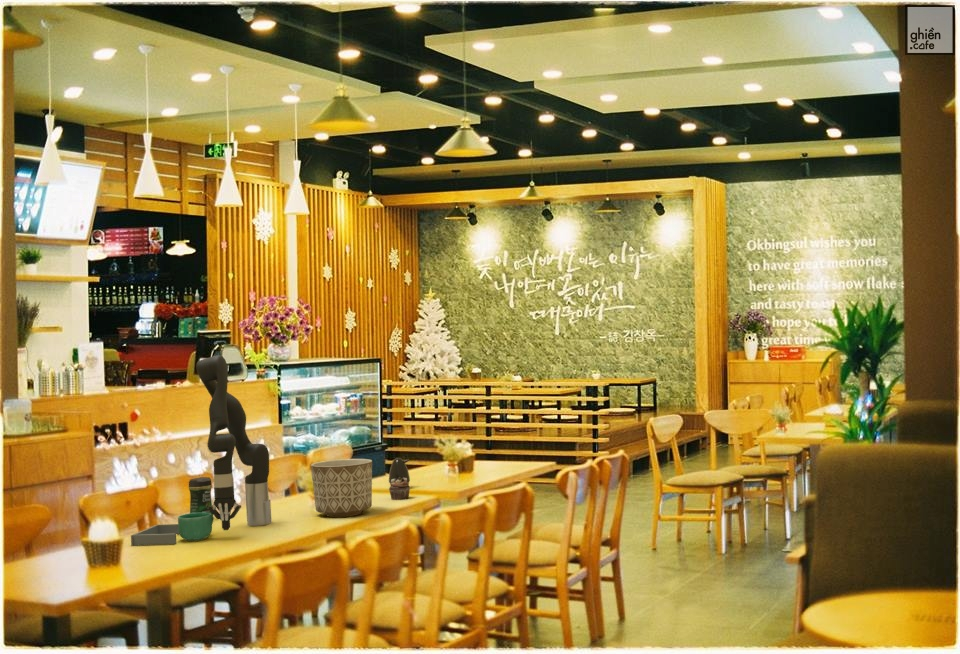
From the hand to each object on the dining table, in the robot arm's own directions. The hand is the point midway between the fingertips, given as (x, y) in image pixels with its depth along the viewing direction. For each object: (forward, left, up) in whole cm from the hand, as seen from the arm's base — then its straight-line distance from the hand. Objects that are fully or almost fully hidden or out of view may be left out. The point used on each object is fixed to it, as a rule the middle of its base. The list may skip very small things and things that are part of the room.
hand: (226, 529), depth 446 cm
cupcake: (-50, -88, -3) cm, 101 cm away
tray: (+24, 0, -3) cm, 25 cm away
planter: (-34, -49, -3) cm, 60 cm away
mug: (+11, 0, -3) cm, 11 cm away
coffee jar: (+27, -43, -3) cm, 51 cm away
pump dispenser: (-43, -120, -3) cm, 128 cm away
